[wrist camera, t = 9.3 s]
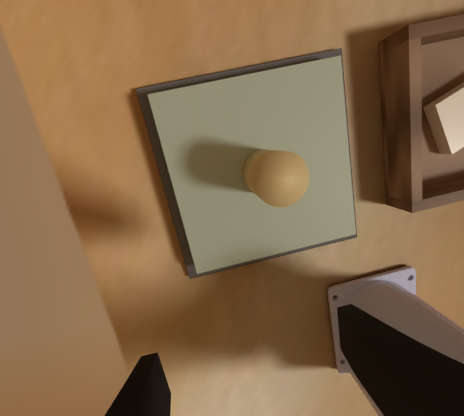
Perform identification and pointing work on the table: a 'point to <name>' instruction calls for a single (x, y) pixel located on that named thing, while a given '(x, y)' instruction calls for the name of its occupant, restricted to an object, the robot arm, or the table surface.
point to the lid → (259, 161)
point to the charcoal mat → (163, 165)
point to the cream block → (447, 120)
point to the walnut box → (420, 113)
